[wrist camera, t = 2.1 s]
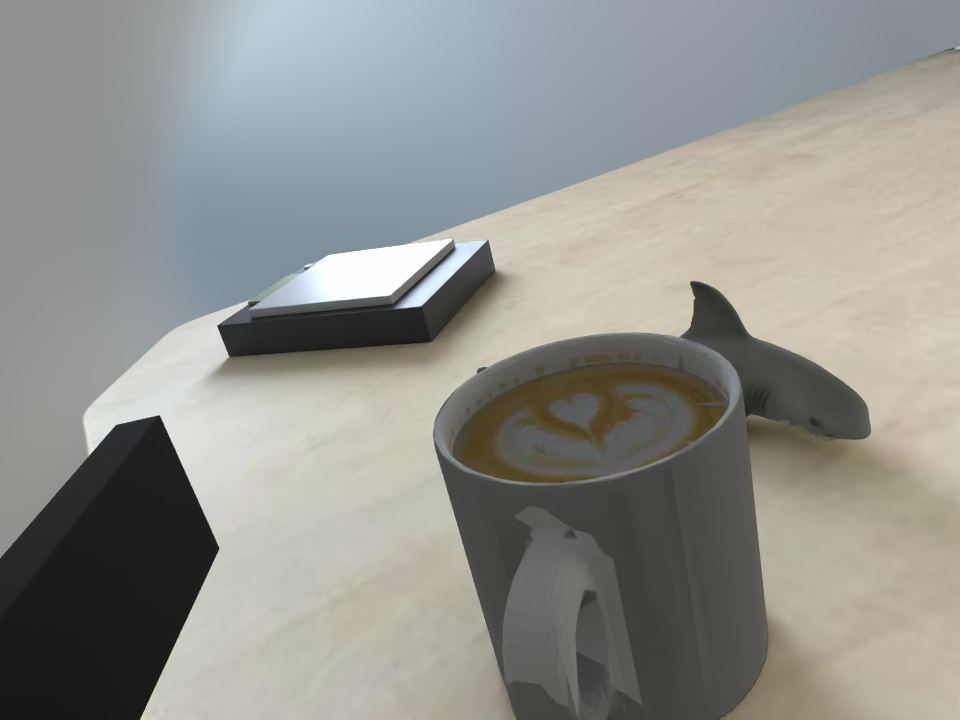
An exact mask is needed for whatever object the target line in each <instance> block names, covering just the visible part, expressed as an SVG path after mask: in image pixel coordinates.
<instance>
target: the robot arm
mask: <svg viewBox="0 0 960 720" xmlns="http://www.w3.org/2000/svg"><path fill="white" fill-rule="evenodd" d="M218 551H219V546H218V544H217V542H216V540H215V537H214V535H213V533H212V531H211V528H210V526H209V524H208V522H207V519H206V517H205V515H204V513H203V511H202V508H201V506H200V504H199V502H198V499H197V497H196V495H195V493H194V491H193V488H192V486H191V484H190V482H189V479H188V477H187V475H186V473H185V471H184V468H183V466H182V464H181V462H180V459H179V457H178V455H177V453H176V450H175V448H174V446H173V444H172V442H171V439H170V437H169V435H168V433H167V430H166V428H165V426H164V424H163V422H162V419H161V417H160V415H159V416H154V417H150V418H145V419H141V420H136V421H132V422H127V423H123V424H118V425H116V426H115V427H114V428H113V429H112V430H111V431H110V433H109V434H108V435H107V436H106V437H105V438H104V440H103V441H102V442H101V443H100V444H99V445H98V446H97V448H96V449H95V450H94V451H93V452H92V453H91V454H90V456H89V457H88V458H87V459H86V460H85V461H84V463H83V464H82V465H81V466H80V467H79V469H77V471H76V472H75V473H74V474H73V475H72V476H71V478H70V479H69V480H68V481H67V482H66V483H65V485H64V486H63V487H62V488H61V489H60V490H59V491H58V492H57V494H56V495H55V496H54V497H53V498H52V499H51V501H50V502H49V503H48V504H47V505H46V506H45V508H44V509H43V510H42V511H41V512H40V513H39V515H38V516H37V517H36V518H35V519H34V520H33V521H32V522H31V524H30V525H29V526H28V527H27V528H26V529H25V531H24V532H23V533H22V534H21V535H20V536H19V537H18V539H17V540H16V541H15V542H14V543H13V545H12V546H11V547H10V548H9V549H8V550H7V551H6V552H5V554H4V555H3V556H2V557H1V558H0V720H140V718H141V716H142V714H143V712H144V710H145V707H146V705H147V703H148V701H149V699H150V697H151V695H152V692H153V690H154V688H155V686H156V684H157V682H158V680H159V677H160V675H161V673H162V671H163V669H164V667H165V664H166V662H167V660H168V658H169V656H170V654H171V652H172V649H173V647H174V645H175V643H176V641H177V639H178V637H179V634H180V632H181V630H182V628H183V626H184V624H185V621H186V619H187V617H188V615H189V613H190V611H191V609H192V606H193V604H194V602H195V600H196V598H197V596H198V594H199V591H200V589H201V587H202V585H203V583H204V581H205V579H206V576H207V574H208V572H209V570H210V568H211V566H212V563H213V561H214V559H215V557H216V555H217V553H218Z"/></svg>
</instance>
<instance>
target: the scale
mask: <svg viewBox="0 0 960 720" xmlns="http://www.w3.org/2000/svg"><path fill="white" fill-rule="evenodd" d="M494 270H495V267H494V263H493V258H492V254H491V250H490V245H489V241H488V240H483V241H475V242H467V243H459V244H455V243H454V239H449V240H441V241H433V242H426V243H418V244H410V245H403V246H395V247H388V248H380V249H373V250H365V251H357V252H349V253H341V254H334V255H328V256H327V257H325V258H324V259H322V260H321V261H318V262H311V263H309V264H308V265H307V266H305V267H304V268H302V269H301V270H299V271H298V272H296V273H295V274H292V275H288V276H286V277H285V278H283V279H282V280H280V281H279V282H278V283H276V284H275V285H273V286H272V287H270V288H268V289H267V290H266V291H264V292H262V293H261V294H259V295H258V296H256V297H255V298H253V299H252V300H250V301H249V302H248V304H249V305H247V306H246V307H244V308H243V309H241V310H240V311H238V312H237V313H235V314H234V315H232V316H231V317H229V318H228V319H226V320H225V321H223V322H222V323H220V324H219V325H218V329H219V332H220V334H221V337H222V339H223V342H224V344H225V347H226V349H227V352H228V355H229V356H240V355H253V354H267V353H281V352H294V351H308V350H321V349H335V348H348V347H362V346H376V345H389V344H403V343H416V342H430V341H432V340H433V339H434V337H435V336H436V335H437V334H438V333H439V332H440V331H441V330H442V329H443V327H444V326H445V325H446V324H447V323H448V322H449V321H450V320H451V318H452V317H453V316H454V315H455V314H456V313H457V312H458V311H459V309H460V308H461V307H462V306H463V305H464V304H465V303H466V302H467V300H468V299H469V298H470V297H471V296H472V295H473V294H474V293H475V291H476V290H477V289H478V288H479V287H480V286H481V285H482V284H483V283H484V281H485V280H486V279H487V278H488V277H489V276H490V275H491V274H492V272H493V271H494Z"/></svg>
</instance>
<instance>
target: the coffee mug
mask: <svg viewBox="0 0 960 720" xmlns="http://www.w3.org/2000/svg"><path fill="white" fill-rule="evenodd" d="M433 438H434V445H435V449H436V453H437V456H438V460H439V463H440V467H441V470H442V473H443V477H444V480H445V484H446V487H447V491H448V494H449V497H450V501H451V504H452V508H453V511H454V515H455V518H456V521H457V525H458V528H459V532H460V535H461V539H462V542H463V545H464V549H465V552H466V556H467V559H468V563H469V566H470V569H471V573H472V576H473V580H474V583H475V587H476V590H477V593H478V597H479V600H480V604H481V607H482V611H483V614H484V617H485V621H486V624H487V628H488V631H489V635H490V638H491V641H492V645H493V648H494V652H495V655H496V659H497V662H498V666H499V669H500V672H501V675H502V678H503V680H504V682H505V685H506V687H507V689H508V693H509V697H510V701H511V705H512V709H513V712H514V714H515V716H516V718H517V720H717V719H718V718H720V717H721V716H723V715H724V714H726V713H727V712H729V711H730V710H732V709H733V708H734V707H735V706H736V705H737V704H738V703H739V702H740V701H741V700H742V698H743V697H744V696H745V695H746V694H747V693H748V692H749V691H750V689H751V688H752V686H753V685H754V683H755V681H756V680H757V678H758V675H759V673H760V671H761V669H762V667H763V664H764V662H765V659H766V655H767V648H768V629H767V619H766V610H765V600H764V590H763V581H762V571H761V561H760V552H759V542H758V532H757V523H756V513H755V503H754V494H753V484H752V474H751V464H750V455H749V445H748V435H747V426H746V416H745V406H744V398H743V391H742V385H741V381H740V378H739V375H738V373H737V371H736V370H735V368H734V367H733V366H732V364H731V363H730V362H729V361H728V360H727V359H726V358H724V357H723V356H722V355H721V354H720V353H718V352H716V351H714V350H713V349H711V348H709V347H707V346H705V345H703V344H700V343H697V342H694V341H691V340H687V339H683V338H679V337H675V336H668V335H660V334H651V333H609V334H598V335H590V336H584V337H577V338H572V339H567V340H562V341H557V342H553V343H550V344H546V345H542V346H539V347H535V348H533V349H530V350H527V351H524V352H521V353H518V354H516V355H514V356H511V357H509V358H506V359H504V360H502V361H499V362H497V363H495V364H493V365H492V366H490V367H488V368H486V369H484V370H482V371H481V372H479V373H478V374H476V375H475V376H473V377H472V378H470V379H469V380H467V381H466V382H465V383H463V384H462V385H461V386H460V387H459V388H457V389H456V390H455V391H454V392H453V393H452V394H451V396H450V397H449V398H448V399H447V400H446V401H445V403H444V404H443V406H442V407H441V408H440V411H439V413H438V415H437V417H436V419H435V422H434V431H433Z"/></svg>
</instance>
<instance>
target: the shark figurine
mask: <svg viewBox="0 0 960 720" xmlns="http://www.w3.org/2000/svg"><path fill="white" fill-rule="evenodd" d="M690 285H691V287H692V291H693V294H694V296H695V299H694V315H693V317H692V322H691V326H690V328H689V329H688V331H686V332H685V333H684V334H683V335H681V336H680V337H679V338H683V339H687V340H691V341H694V342H697V343H700V344H703V345H705V346H707V347H709V348H711V349H713V350H714V351H716V352H718V353H720V354H721V355H722V356H723V357H724V358H726V359H727V360H728V361H729V362H730V363H731V364H732V366H733V367H734V368H735V370H736V371H737V373H738V375H739V378H740V381H741V385H742V391H743V398H744V406H745V416H746V417H747V416H749V415H751V414H753V415H757V416H761V417H765V418H768V419H771V420H774V421H777V422H779V423H781V424H784V425H786V426H789V427H792V428H794V429H796V430H798V431H799V432H801V433H803V434H804V435H806V436H808V437H810V438H812V439H814V440H817V441H823V442H830V441H833V440H835V439H851V440H857V439H864V438H867V437H868V436H869V435H870V433H871V426H870V421H869V413H868V408H867V405H866V403H865V401H864V400H863V399H862V398H861V397H860V396H859V395H858V394H857V393H856V392H855V391H854V390H853V389H852V388H850V387H849V386H848V385H847V384H845V383H844V382H843V381H841V380H840V379H838V378H837V377H835V376H834V375H833V374H831V373H830V372H828V371H827V370H825V369H824V368H822V367H821V366H819V365H817V364H816V363H814V362H812V361H810V360H808V359H806V358H804V357H802V356H800V355H798V354H796V353H793V352H791V351H789V350H786V349H784V348H781V347H779V346H776V345H774V344H771V343H768V342H765V341H762V340H759V339H756V338H754V337H752V336H751V335H750V334H749V333H748V332H747V330H746V329H745V327H744V325H743V324H742V322H741V320H740V318H739V316H738V314H737V312H736V311H735V309H734V308H733V306H732V305H731V304H730V302H729V301H728V300H727V299H726V298H725V297H724V295H723V294H721V293H720V292H719V291H718V290H717V289H715V288H713V287H711V286H709V285H707V284H704V283H701V282H696V281H691V282H690ZM486 368H488V367H481V368H479V369H477V374H478V373H479V372H481V371H482V370H484V369H486Z"/></svg>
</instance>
